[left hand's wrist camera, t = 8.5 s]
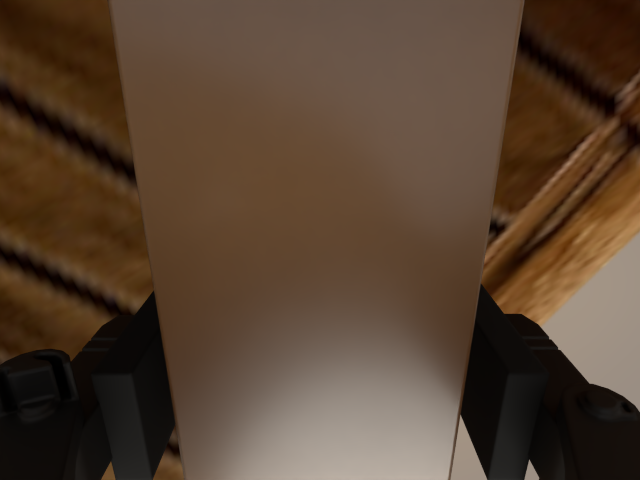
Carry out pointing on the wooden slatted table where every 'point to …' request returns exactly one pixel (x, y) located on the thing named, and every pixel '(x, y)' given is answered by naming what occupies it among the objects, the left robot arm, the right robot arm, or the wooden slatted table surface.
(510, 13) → the bar
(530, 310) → the wooden slatted table surface
